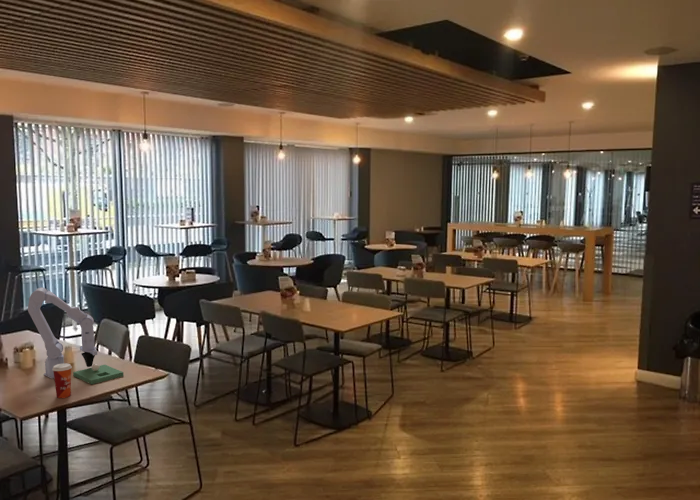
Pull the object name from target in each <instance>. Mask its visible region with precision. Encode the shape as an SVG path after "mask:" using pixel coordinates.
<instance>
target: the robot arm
mask: <svg viewBox="0 0 700 500" xmlns="http://www.w3.org/2000/svg"><path fill="white" fill-rule="evenodd" d="M43 303H45V304H52V305H54V306H55V307H58V308H59V309H60V310H62V311H64V312H66V316H67V317H68V318H69V319H71V320H72V321H74V322H75V323H77V324H79V326H80V328H81V346H79V351H82V352H81V356H82V357H83V360H84V363H85V366H86V367H87V368H92V366H93V365H94V364H93V362H94V359H95V356H97V355H98V350H97V349H98V347H97V346H95V332H94V331H95V330H94V322H95V320H94V318H93V316H92V315H90V314H88V313H86V312H84V311H82V310H81V309H80V307H79V306H71V305H69V304H68V303H67V302H65V301H64V300H63V299H61V298H60V297H58V295H56V294H54V292H52V291H51V290H48V289H47V288H45V287H37V288H36V289H35V290H34V291H33V292H32V293H31V294H30V296H29V298H28V305H27V312H28V314H29V316H30V318H31V319H32V321H33V324H34V325H35V327H36V329H37V331H38V333H39V335H40V337H41V339H42V341H43V342H44V348H45V349H46V352H45V353H46V356H47V358H46V359H45V360H44V363H45V364H44V368H45V373H43V375H44V376H45V377H47V378H49V379H54V372H53V370H52V369H53V367H54V366H55V365H57V364H63V363H65V360H64V359H65V358H64V354H63V351H64V345H63V344H62V343H61V342H60V341H59V340H58V338H56V337H55V335H54V333H53V332H52V330H51V327H50V325H49V323H48V322H47V320H46V317H45V316H44V314H43V312H42V310H41V307H42V306H43Z"/></svg>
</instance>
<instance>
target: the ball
mask: <svg viewBox="0 0 700 500" xmlns="http://www.w3.org/2000/svg"><path fill="white" fill-rule="evenodd" d="M99 366H100V365H99V364H98V363H95V364H92V366H91V368H92V370H93V371H98V370H99V368H100V367H99Z"/></svg>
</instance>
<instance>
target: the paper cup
mask: <svg viewBox="0 0 700 500" xmlns="http://www.w3.org/2000/svg"><path fill="white" fill-rule="evenodd" d="M72 367H73V366H72V365H71V364H70V363H67V362H64V363H63V364H57V365H55V366H54V367H53V369H52V370H53V372H54V378H53V379H54V385H55V386H54V387H55V395H56V398H58V399H65V398H68V397H71V393H72V392H71V391H72Z"/></svg>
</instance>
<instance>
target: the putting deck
mask: <svg viewBox="0 0 700 500" xmlns="http://www.w3.org/2000/svg"><path fill="white" fill-rule="evenodd" d="M99 367H100V368H99V370H98V371H93V370H92V367H87V368H84V369H79V370H77V371H73V372H72V373H73V375H72V376H73V377H74V378H77V379H79V380H81V381H83V382H85V383H88V384H90V385H94V384H98V383H102V382H105V381H110V380H114V379H117V378H122V377H124V371H122V370H119V369H117V368H114V367H112V366H109V365H107V364H101V365H99Z"/></svg>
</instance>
